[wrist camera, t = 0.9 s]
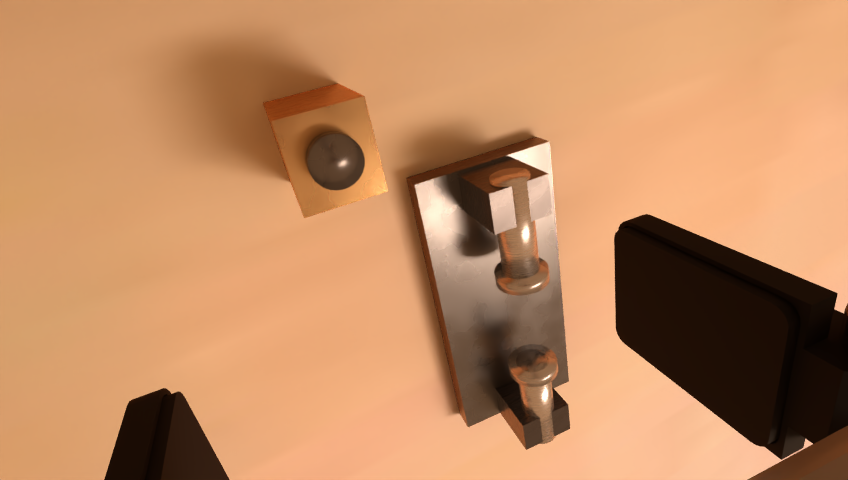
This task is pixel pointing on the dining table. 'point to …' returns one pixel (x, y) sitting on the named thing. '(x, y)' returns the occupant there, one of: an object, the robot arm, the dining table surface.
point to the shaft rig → (498, 285)
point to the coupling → (327, 147)
